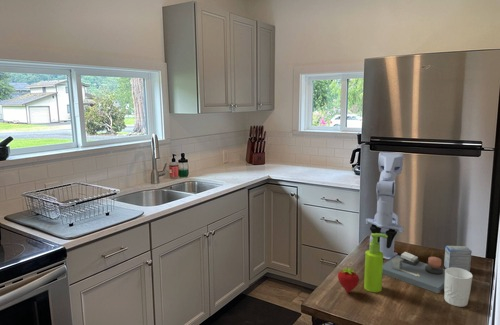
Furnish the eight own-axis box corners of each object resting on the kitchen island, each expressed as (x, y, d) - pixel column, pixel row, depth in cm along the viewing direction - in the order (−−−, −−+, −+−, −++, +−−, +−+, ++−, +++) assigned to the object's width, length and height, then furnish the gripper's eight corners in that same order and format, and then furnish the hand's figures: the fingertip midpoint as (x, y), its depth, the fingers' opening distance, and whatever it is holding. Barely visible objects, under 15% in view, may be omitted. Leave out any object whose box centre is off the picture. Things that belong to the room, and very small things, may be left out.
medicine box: (464, 266, 148) (466, 245, 147) (469, 272, 144) (472, 250, 143) (443, 266, 149) (445, 245, 148) (448, 271, 145) (450, 249, 143)
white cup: (445, 292, 129) (448, 265, 128) (471, 300, 125) (474, 271, 123) (439, 302, 124) (442, 273, 122) (467, 310, 119) (470, 281, 117)
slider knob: (391, 267, 143) (392, 258, 143) (394, 265, 145) (395, 256, 144) (399, 270, 141) (399, 261, 140) (402, 268, 143) (402, 259, 142)
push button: (426, 265, 141) (426, 259, 140) (430, 261, 144) (431, 255, 143) (438, 269, 138) (438, 262, 137) (442, 265, 141) (443, 259, 140)
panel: (377, 272, 145) (378, 264, 144) (397, 259, 156) (397, 252, 155) (438, 293, 129) (438, 285, 128) (454, 277, 140) (455, 269, 139)
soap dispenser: (385, 293, 129) (388, 237, 126) (364, 291, 131) (367, 236, 127) (383, 285, 135) (386, 231, 132) (363, 283, 136) (365, 230, 133)
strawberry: (352, 299, 126) (353, 271, 124) (333, 291, 131) (334, 264, 130) (362, 293, 130) (363, 266, 128) (343, 285, 135) (344, 259, 133)
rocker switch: (400, 257, 149) (401, 254, 149) (404, 254, 152) (405, 251, 151) (413, 262, 146) (414, 259, 145) (417, 259, 148) (418, 257, 148)
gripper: (361, 210, 146) (360, 243, 149) (398, 218, 136) (396, 254, 138) (371, 206, 151) (369, 238, 153) (407, 214, 141) (404, 248, 143)
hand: (382, 245), depth 146 cm, fingers open, 4 cm apart
